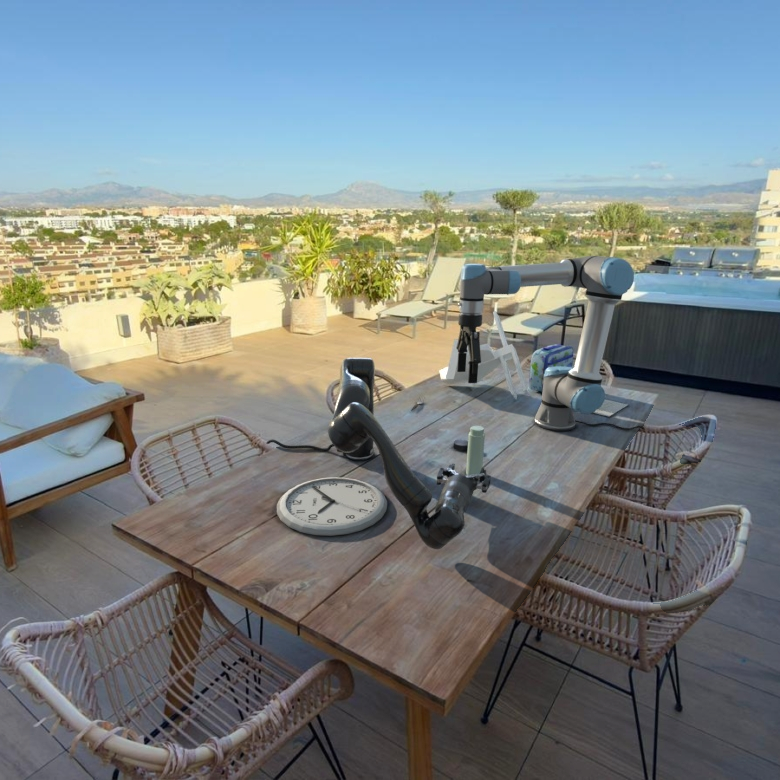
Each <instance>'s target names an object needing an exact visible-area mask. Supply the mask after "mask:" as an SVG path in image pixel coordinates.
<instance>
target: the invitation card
mask: <svg viewBox="0 0 780 780" xmlns="http://www.w3.org/2000/svg"><path fill="white" fill-rule="evenodd" d="M628 406H629V404H627V403H623V402H618V401H614V400H609V399H606V398H605V400H604V402H603V404H602V406H601V407H600V408H599V409H597V410H596V411H595V412H593V413H592V414H596V415H600V416H604V417H608V418H609V417H611V416H613V415H614V414H616V413H617V412H619V411H621V410H623V409H624V408H626V407H628Z"/></svg>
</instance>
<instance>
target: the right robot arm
mask: <svg viewBox="0 0 780 780" xmlns="http://www.w3.org/2000/svg"><path fill="white" fill-rule="evenodd" d="M459 278H460V287H459V288H460V289H459V290H460V291H459V302H458V303H457V306H458V307H459V309H458V312H459V313H458V321H457V322H458V323H457V324H458V326H460V327H459V328H460V329H459V334H458V335H459V336H458V338H457V339H458V343H457V347H456V348H457V350H458V366H457V372H465V370H466V354H467V353H464V352H467V347H468V348H469V355H470V361H469V376H468V383H467V384H478V382H477V375H478V364H479V363H481V354H480V345H481V343H480V335H481V333H480V331H477V328H480V327H481V326H482V325H483V312H484V300H485V295H486V296H487V295H507V296H509V295H515V294H517V293H518V292H519V291H520V289H521V288H524V287H525V288H526V287H539V286H540V287H541V286H555V285H561V286H562V287H565V288H567V287H574V288H575V287H576V288H580V289H586V291H585V298H586V299H587V300H588V301H587V302H588V303H587V307H586V311H585V316H584V321H583V324H582V325H583V326H582V329H581V335H580V338H579V343H578V347H577V351H576V357H575V361H574V366H572V367H562V366H557V367H549V368H547V369H546V370H545V374H544V382H543V392H541V393H542V394H541V402H540V405H539V407H538V410H537V411H536V413H535V416H534V424H535V425H536V426H537V427H539V428H542V429H544V430H549V431H556V432H567V431H572V430H574V429H575V428H576V423H577V424H582V425H585V426H589V427H596V426H597V427H598V426H602V425H604V426H611V427H614V428H617V429H619V430H623V431H632V430H636V429H639V428H640V429H641V430H646V429H645V427H644V426H642V425H636V426H632V427H623V426H619V425H617V424H614V423H610V422H598V423H588V422H585V421H581V420H578V419H576V418H575V417H576V416H575V413H574V412H577V413H579V414H582V415H590V414H594V413H593V412H595V411H596V410H597V409H599V408H600V407H601V406H602V404H603V402H604V400H605V399H606V391H605V389H604V387H603V386H602V381H603V376H602V374H601V373H600V370H601V366H602V363H603V362H602V361H603V357H604V353H605V350H606V349H605V348H606V345H607V341H608V336H609V332H610V327H611V324H612V320H613V315H614V312H615V307H616V305H617V304H618V303H620V302H621V301H622V298H623V295H624V294H626V293H627V292H628V291H629V290H630V289H631V288H632V286H633V284H634V280H635V273H634V269H633V267H632V265H631V264H630V263H629V261H627V260H626V259H624V258H620V257H616V256H601V255H587V256H582V257H575V258H564V259H562V260H561V261H560V262H547V263H532V264H517V265H500V266H486V265H485V264H483V263H465V264H463V265H462V267H461V271H460V277H459Z"/></svg>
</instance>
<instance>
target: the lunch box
mask: <svg viewBox="0 0 780 780" xmlns="http://www.w3.org/2000/svg"><path fill="white" fill-rule="evenodd" d="M530 359H531V360H530V366H529V377H528V379H529V380H528V387H529V390H531V391H536V392H541V393H542V392H543V382H544V374H545V370H546V369H547V368H549V367H557V366H562V367H573V363H574V347H572V346H568V345H562V344H551V345H547V346H545V347H541V348H539V349H536V350H534V352H533V353H532V355H531V358H530Z"/></svg>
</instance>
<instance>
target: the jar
mask: <svg viewBox="0 0 780 780" xmlns="http://www.w3.org/2000/svg"><path fill="white" fill-rule="evenodd" d="M485 437H486V434H485V428H484V427H483V426H481V425H472V426H470V428H469V432H468V438H467V439H468V440H467V441H468V450H467V451H466V452H467V454H466V467H465V475H472V474H480V471H481V469H482V468H483V465H484V450H485Z"/></svg>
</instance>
